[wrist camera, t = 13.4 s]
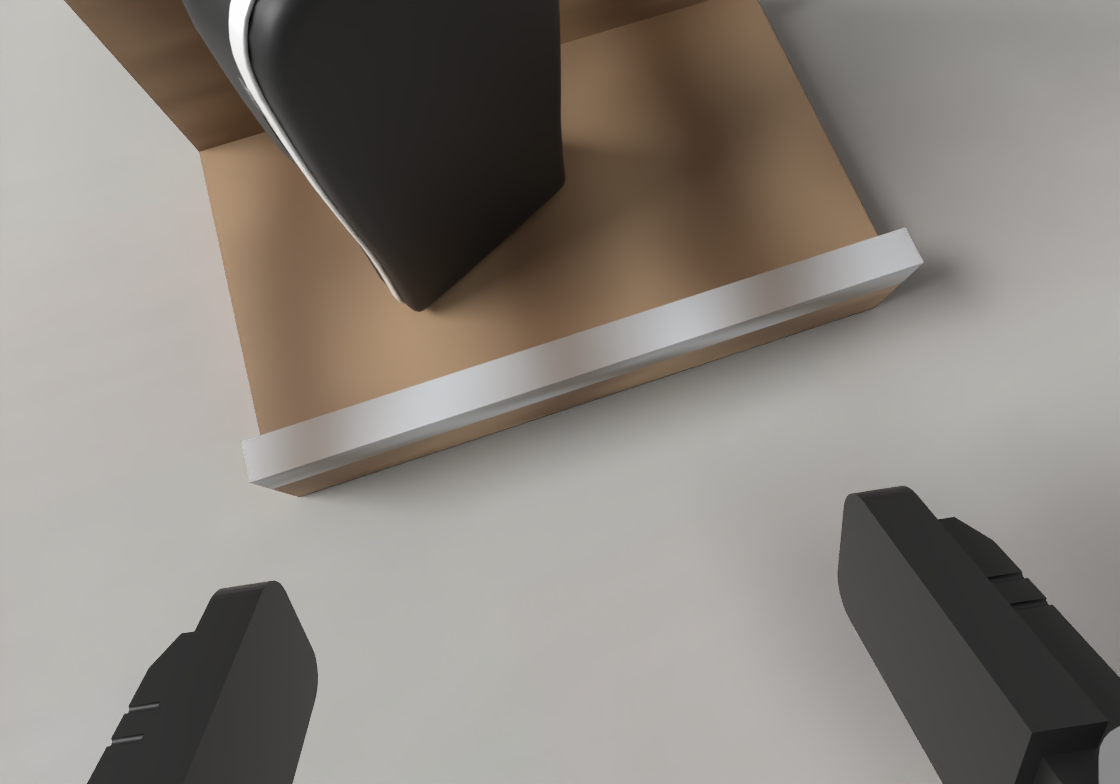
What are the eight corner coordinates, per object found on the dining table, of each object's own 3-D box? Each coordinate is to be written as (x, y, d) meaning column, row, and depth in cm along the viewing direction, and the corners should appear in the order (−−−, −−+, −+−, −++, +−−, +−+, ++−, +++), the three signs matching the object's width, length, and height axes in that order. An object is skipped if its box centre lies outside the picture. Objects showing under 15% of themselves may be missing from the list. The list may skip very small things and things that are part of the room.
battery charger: (495, 115, 23) (410, -316, 12) (575, 183, 22) (561, -214, 11) (338, 249, 22) (84, -94, 11) (415, 326, 21) (225, 38, 10)
